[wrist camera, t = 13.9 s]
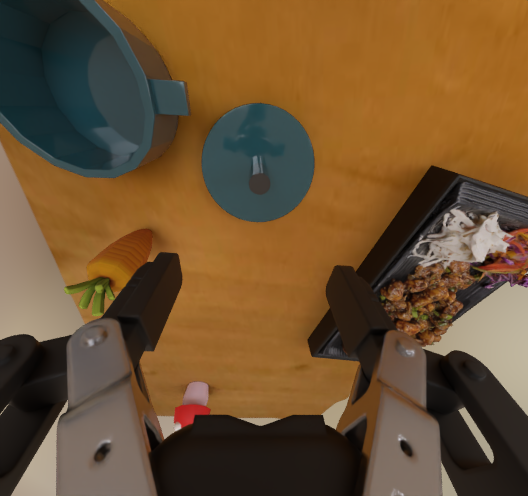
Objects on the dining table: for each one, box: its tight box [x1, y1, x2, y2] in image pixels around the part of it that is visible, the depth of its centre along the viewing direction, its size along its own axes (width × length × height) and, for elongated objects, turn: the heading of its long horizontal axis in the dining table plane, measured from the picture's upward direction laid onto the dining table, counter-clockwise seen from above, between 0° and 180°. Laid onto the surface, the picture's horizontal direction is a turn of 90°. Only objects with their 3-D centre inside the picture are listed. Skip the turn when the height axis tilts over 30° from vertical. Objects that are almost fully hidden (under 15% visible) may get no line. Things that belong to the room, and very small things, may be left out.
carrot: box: [64, 229, 153, 316], centre depth 25 cm, size 5×5×15 cm
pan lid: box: [202, 103, 314, 222], centre depth 24 cm, size 15×15×6 cm
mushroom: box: [174, 382, 211, 431], centre depth 61 cm, size 11×11×12 cm
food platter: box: [308, 166, 528, 361], centre depth 38 cm, size 45×25×10 cm, turn 165°
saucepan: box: [0, 0, 191, 178], centre depth 19 cm, size 14×19×7 cm
